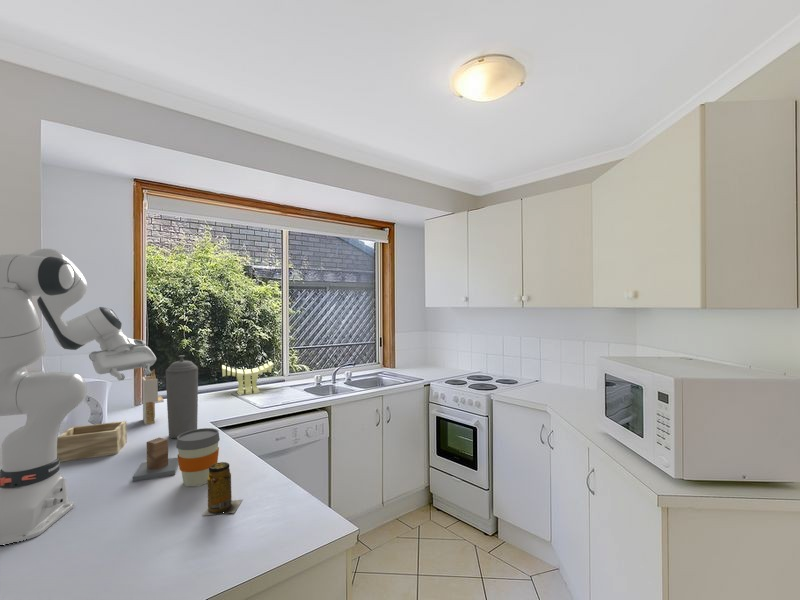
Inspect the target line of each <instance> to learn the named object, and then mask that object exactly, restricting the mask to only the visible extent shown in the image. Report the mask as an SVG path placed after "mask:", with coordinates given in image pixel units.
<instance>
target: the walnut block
mask: <svg viewBox="0 0 800 600" xmlns="http://www.w3.org/2000/svg"><path fill="white" fill-rule="evenodd" d="M168 459H169V439H168V438H163V437H156V438H153V439H150V440H148V441H146V462H147V468H148V469H153V470H157V469H160V468H162V467H164V466H167V465H168Z"/></svg>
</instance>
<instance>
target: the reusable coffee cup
mask: <svg viewBox="0 0 800 600" xmlns="http://www.w3.org/2000/svg"><path fill="white" fill-rule="evenodd" d="M220 438H221V437H220V433H219V430H218V429H216V428H211V427H209V428H207V427H204V428H197V429H195V430H191V431H187V432H185V433H182V434H180V435H179V436H178V437H177V438H176V446H175V447H176V449H177V452H178V454H177V457H178V463H179V466H178V468H179V471H181V477H182V482H183V486H185V487H188V486H196V487H200V486H199V485H201V486H204V485H207V484H208V481H207V480H208V476H209V467H210V466H211V465H213V464H215V463H219V462H218V461H219V451H220V447H219V442H220ZM206 483H207V484H206ZM203 484H204V485H203Z"/></svg>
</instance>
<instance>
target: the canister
mask: <svg viewBox="0 0 800 600" xmlns="http://www.w3.org/2000/svg"><path fill="white" fill-rule="evenodd" d="M184 357H186V356H185V354H183V355H182V354H181V355H178V358H179V360H177V361H174V362H172V363H171V364H170V365H169V366H168V367H167V369H165V385H166V405H167V406H166V407H167V427H168V436H169V438H171V439H177V437H178V436H179V435H180V434H182V433H185V432H187V431H191V430H195V429H198V415H199V414H198V409H199V407H198V406H199V404H198V402H199V399H198V398H199V368H198V366H197V365H196V364H195V363H194V362H193V361H191V360H185V359H184Z"/></svg>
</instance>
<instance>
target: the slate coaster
mask: <svg viewBox="0 0 800 600" xmlns="http://www.w3.org/2000/svg"><path fill="white" fill-rule="evenodd" d="M178 468H179V463H178V456H177V457H173V458H168V465H167V466H164V467H162V468H160V469H157V470H153V469H148V468H147V461H145V462H141V463H140V464H139V466H138V468H137V469H136V471H135V473H134V474H133V476H132V482H138V481H144V480H150V479H156V478H163V477H169V476H174V475H176V473H177V471H178Z"/></svg>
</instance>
